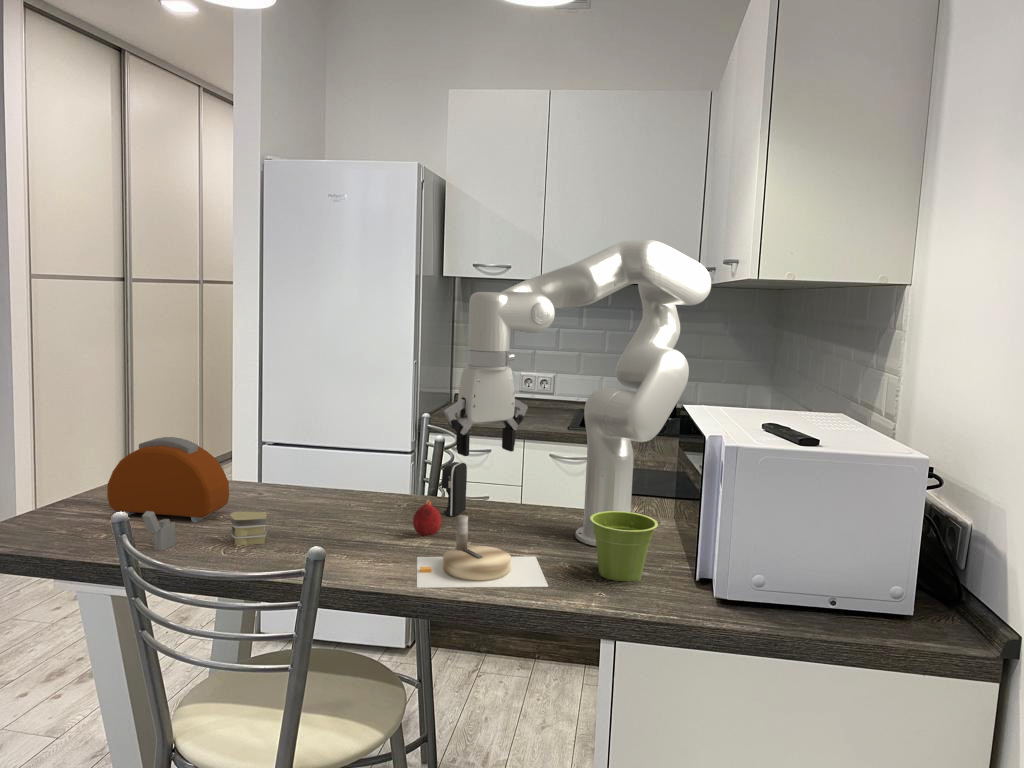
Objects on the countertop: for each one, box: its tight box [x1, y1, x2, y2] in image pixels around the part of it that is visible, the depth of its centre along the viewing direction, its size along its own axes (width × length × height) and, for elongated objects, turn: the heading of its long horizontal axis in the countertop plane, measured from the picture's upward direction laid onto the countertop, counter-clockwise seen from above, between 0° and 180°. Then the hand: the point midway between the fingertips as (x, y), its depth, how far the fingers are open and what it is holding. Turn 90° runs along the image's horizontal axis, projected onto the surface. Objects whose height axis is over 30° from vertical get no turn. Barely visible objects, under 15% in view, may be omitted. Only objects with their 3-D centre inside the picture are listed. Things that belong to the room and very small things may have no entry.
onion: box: [412, 499, 443, 538], centre depth 161 cm, size 6×6×8 cm
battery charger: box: [440, 461, 468, 517], centre depth 181 cm, size 7×4×11 cm, turn 161°
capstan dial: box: [442, 514, 512, 580], centre depth 141 cm, size 12×12×8 cm
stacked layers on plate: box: [229, 511, 268, 547], centre depth 156 cm, size 10×9×6 cm
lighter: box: [141, 511, 177, 552], centre depth 150 cm, size 7×2×8 cm, turn 165°
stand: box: [416, 556, 549, 589], centre depth 141 cm, size 22×15×2 cm
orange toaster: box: [106, 436, 230, 523], centre depth 171 cm, size 23×9×17 cm, turn 82°
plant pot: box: [590, 511, 659, 582], centre depth 142 cm, size 12×12×11 cm
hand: (485, 452), depth 148 cm, fingers open, 9 cm apart
